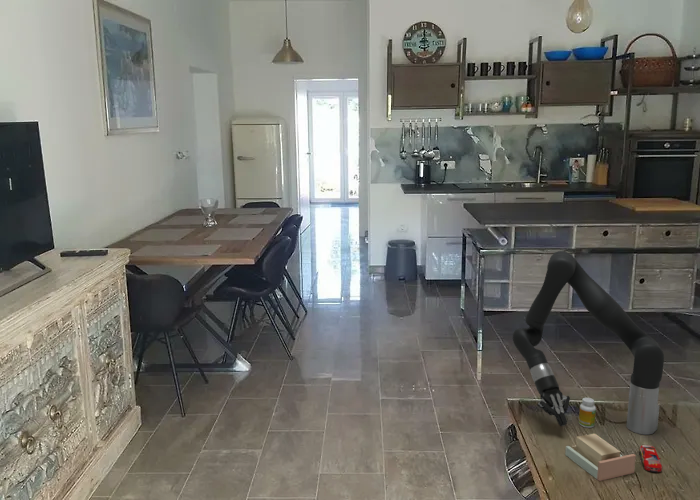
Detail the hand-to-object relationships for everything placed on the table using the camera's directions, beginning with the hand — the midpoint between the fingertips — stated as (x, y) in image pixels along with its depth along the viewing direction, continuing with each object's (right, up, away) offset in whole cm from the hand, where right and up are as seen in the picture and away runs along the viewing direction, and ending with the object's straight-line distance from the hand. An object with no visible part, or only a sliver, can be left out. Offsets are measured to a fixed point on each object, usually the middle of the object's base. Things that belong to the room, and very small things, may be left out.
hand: (564, 425), depth 208 cm
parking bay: (+6, -8, -15) cm, 18 cm away
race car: (+22, -8, -15) cm, 28 cm away
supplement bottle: (+12, -3, +10) cm, 16 cm away
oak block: (+5, -8, -15) cm, 18 cm away
